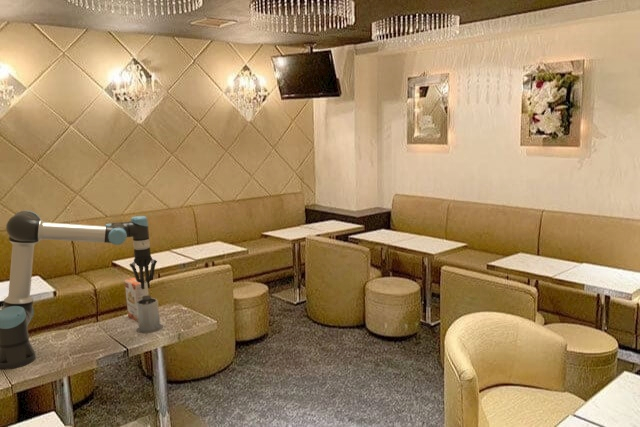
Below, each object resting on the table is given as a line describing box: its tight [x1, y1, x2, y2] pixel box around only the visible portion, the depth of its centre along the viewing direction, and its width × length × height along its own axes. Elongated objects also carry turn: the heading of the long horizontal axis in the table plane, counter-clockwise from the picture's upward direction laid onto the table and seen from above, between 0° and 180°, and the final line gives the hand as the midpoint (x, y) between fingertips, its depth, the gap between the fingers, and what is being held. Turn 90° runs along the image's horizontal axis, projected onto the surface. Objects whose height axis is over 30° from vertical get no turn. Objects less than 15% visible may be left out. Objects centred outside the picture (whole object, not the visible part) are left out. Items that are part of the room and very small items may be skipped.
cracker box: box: [124, 277, 145, 322], centre depth 277 cm, size 14×6×21 cm, turn 42°
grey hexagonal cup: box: [136, 297, 161, 332], centre depth 262 cm, size 10×10×14 cm
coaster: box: [135, 323, 164, 335], centre depth 263 cm, size 13×13×1 cm
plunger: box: [142, 294, 152, 304], centre depth 261 cm, size 7×7×12 cm
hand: (146, 294), depth 260 cm, fingers closed
